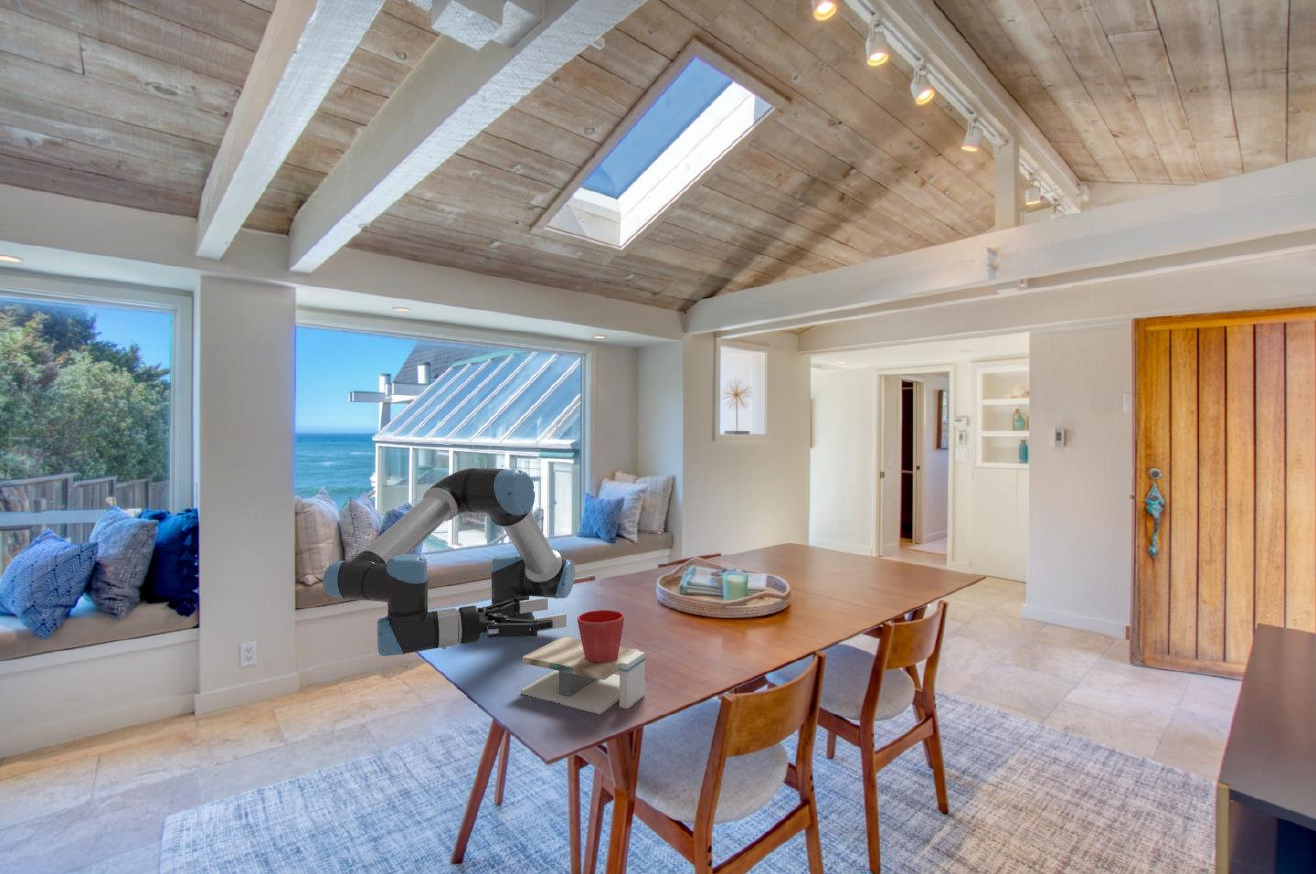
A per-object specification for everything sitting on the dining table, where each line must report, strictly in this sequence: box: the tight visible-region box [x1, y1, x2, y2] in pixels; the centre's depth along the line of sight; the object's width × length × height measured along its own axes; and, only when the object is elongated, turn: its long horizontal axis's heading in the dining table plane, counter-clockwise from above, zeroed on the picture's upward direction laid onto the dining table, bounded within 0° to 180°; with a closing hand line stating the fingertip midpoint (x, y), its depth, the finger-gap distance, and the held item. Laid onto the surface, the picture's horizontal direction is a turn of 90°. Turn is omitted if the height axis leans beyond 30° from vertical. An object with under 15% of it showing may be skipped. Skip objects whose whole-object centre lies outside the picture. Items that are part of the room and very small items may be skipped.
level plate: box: [521, 636, 641, 680], centre depth 142 cm, size 23×16×2 cm
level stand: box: [520, 650, 646, 715], centre depth 142 cm, size 26×18×10 cm
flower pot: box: [576, 609, 625, 663], centre depth 140 cm, size 11×11×10 cm
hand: (556, 611), depth 135 cm, fingers open, 13 cm apart
